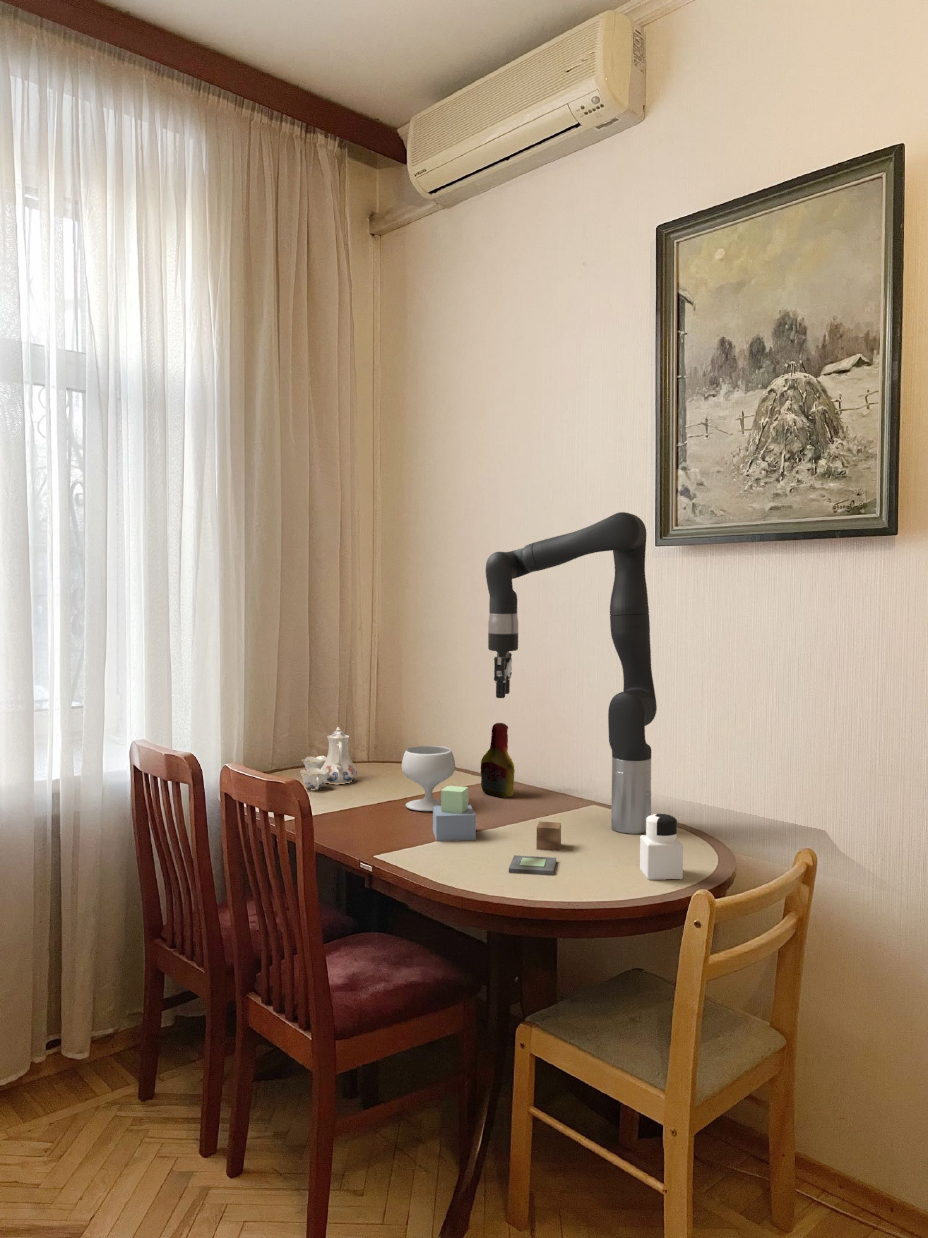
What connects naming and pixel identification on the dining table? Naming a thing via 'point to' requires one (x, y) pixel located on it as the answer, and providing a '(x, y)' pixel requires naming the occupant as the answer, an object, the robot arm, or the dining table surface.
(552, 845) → the walnut cube
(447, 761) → the chalice
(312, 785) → the chinaware
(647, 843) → the medicine bottle
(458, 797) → the sage cube
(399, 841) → the dining table surface
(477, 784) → the dining table surface
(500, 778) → the bottle
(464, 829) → the base block
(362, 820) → the dining table surface
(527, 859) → the tile
